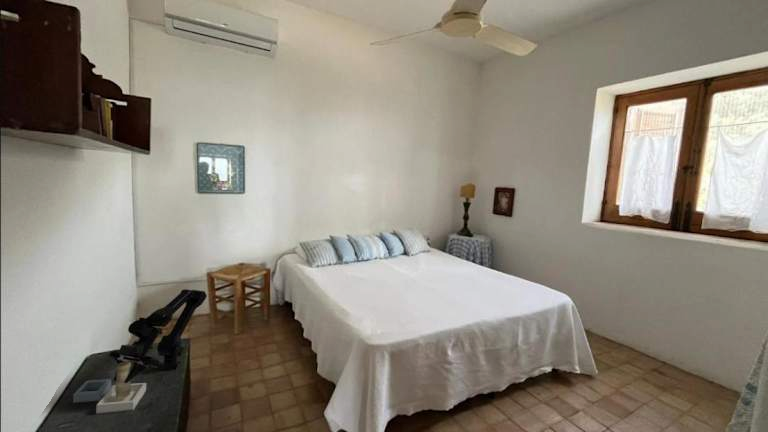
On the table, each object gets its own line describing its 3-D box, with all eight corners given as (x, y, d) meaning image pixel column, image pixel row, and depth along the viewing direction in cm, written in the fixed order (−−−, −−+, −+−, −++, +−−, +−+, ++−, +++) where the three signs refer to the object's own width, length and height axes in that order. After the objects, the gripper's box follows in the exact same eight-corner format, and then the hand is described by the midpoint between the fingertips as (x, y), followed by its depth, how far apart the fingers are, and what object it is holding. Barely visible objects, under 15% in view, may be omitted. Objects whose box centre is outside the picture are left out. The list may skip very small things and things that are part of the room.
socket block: (86, 388, 129) (86, 380, 128) (111, 386, 131) (111, 379, 131) (73, 402, 121) (73, 394, 120) (99, 400, 123) (99, 392, 123)
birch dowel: (115, 394, 124) (116, 363, 122) (129, 389, 127) (130, 360, 126) (116, 400, 121) (117, 369, 119) (130, 395, 124) (131, 365, 123)
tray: (112, 393, 128) (112, 385, 127) (146, 390, 131) (146, 382, 131) (96, 413, 117) (96, 405, 116) (133, 410, 120) (133, 401, 120)
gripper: (113, 331, 126) (83, 372, 117) (154, 339, 124) (128, 381, 115) (130, 340, 135) (104, 379, 125) (169, 347, 133) (146, 387, 123)
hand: (120, 381), depth 122 cm, fingers closed on birch dowel, 4 cm apart
